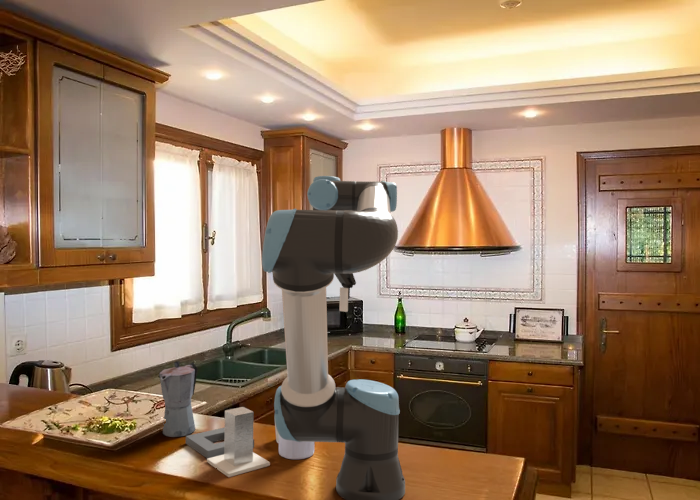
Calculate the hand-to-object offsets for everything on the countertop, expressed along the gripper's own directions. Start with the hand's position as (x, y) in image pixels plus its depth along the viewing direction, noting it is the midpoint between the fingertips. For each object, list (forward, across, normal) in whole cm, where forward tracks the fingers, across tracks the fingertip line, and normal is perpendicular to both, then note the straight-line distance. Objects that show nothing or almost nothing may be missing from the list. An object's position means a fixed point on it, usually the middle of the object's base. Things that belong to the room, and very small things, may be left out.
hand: (324, 313), depth 152 cm
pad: (+35, +26, 0) cm, 43 cm away
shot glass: (+35, +7, -6) cm, 36 cm away
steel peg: (+34, +26, 0) cm, 42 cm away
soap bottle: (+35, +11, +3) cm, 37 cm away
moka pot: (+35, +27, -30) cm, 54 cm away
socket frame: (+35, +23, -14) cm, 44 cm away
